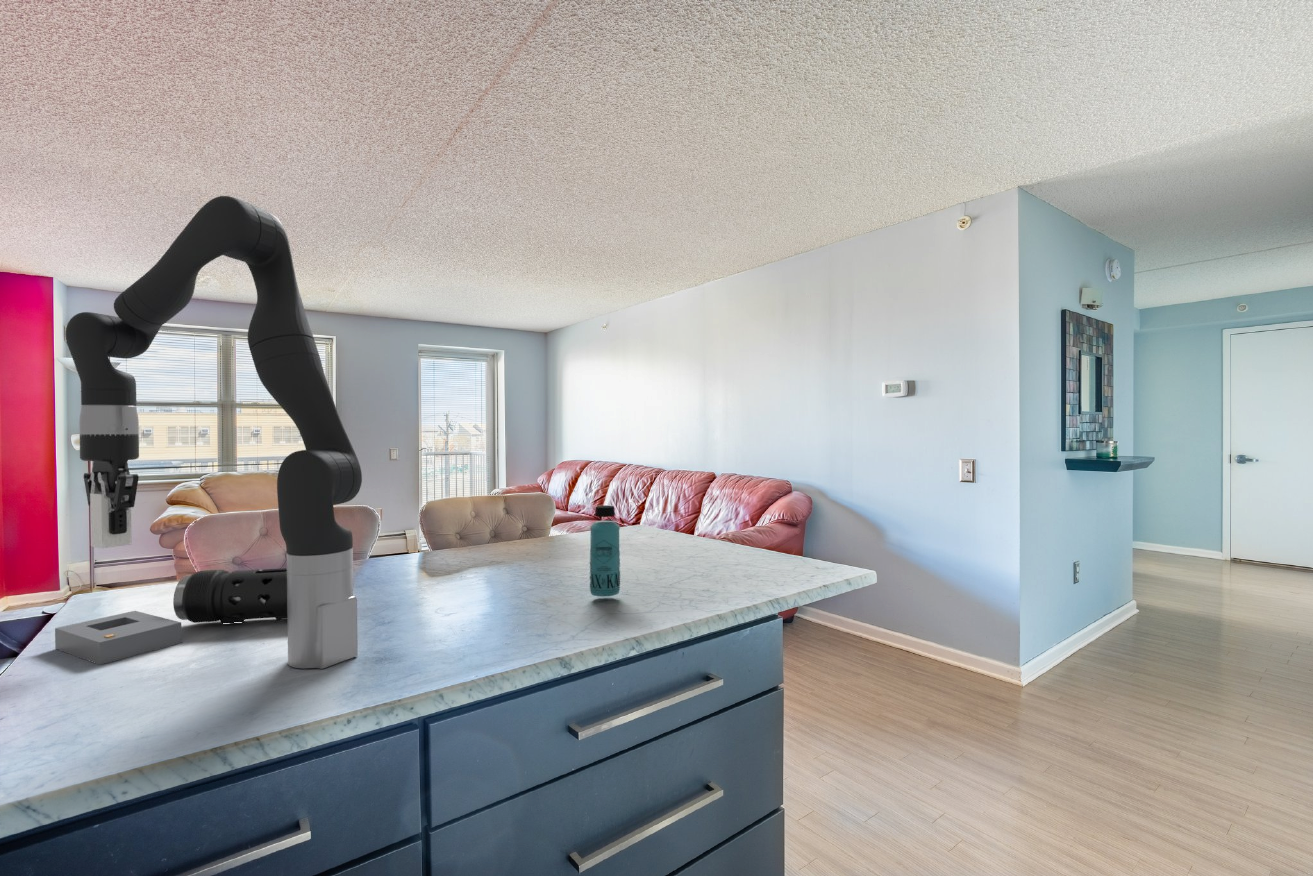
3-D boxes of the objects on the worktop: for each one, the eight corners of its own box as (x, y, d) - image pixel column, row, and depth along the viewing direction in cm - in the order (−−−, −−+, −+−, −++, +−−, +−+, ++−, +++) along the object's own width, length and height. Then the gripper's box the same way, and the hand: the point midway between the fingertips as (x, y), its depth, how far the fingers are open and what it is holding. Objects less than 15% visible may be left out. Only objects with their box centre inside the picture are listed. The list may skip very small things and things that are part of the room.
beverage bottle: (587, 597, 131) (586, 504, 130) (616, 594, 133) (616, 503, 132) (593, 605, 124) (592, 508, 124) (624, 602, 126) (623, 506, 126)
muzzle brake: (340, 623, 114) (339, 569, 114) (170, 635, 109) (169, 577, 108) (354, 609, 124) (353, 558, 124) (199, 619, 118) (198, 566, 118)
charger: (131, 544, 104) (130, 491, 104) (102, 548, 101) (101, 493, 101) (120, 542, 106) (119, 490, 106) (91, 546, 103) (90, 492, 103)
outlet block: (181, 642, 104) (181, 621, 104) (100, 664, 94) (99, 641, 94) (135, 629, 111) (135, 609, 111) (55, 648, 102) (54, 627, 102)
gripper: (157, 432, 103) (158, 532, 104) (117, 432, 110) (118, 526, 110) (101, 432, 97) (103, 539, 97) (62, 432, 103) (63, 533, 103)
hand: (111, 532), depth 104 cm, fingers closed on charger, 4 cm apart
